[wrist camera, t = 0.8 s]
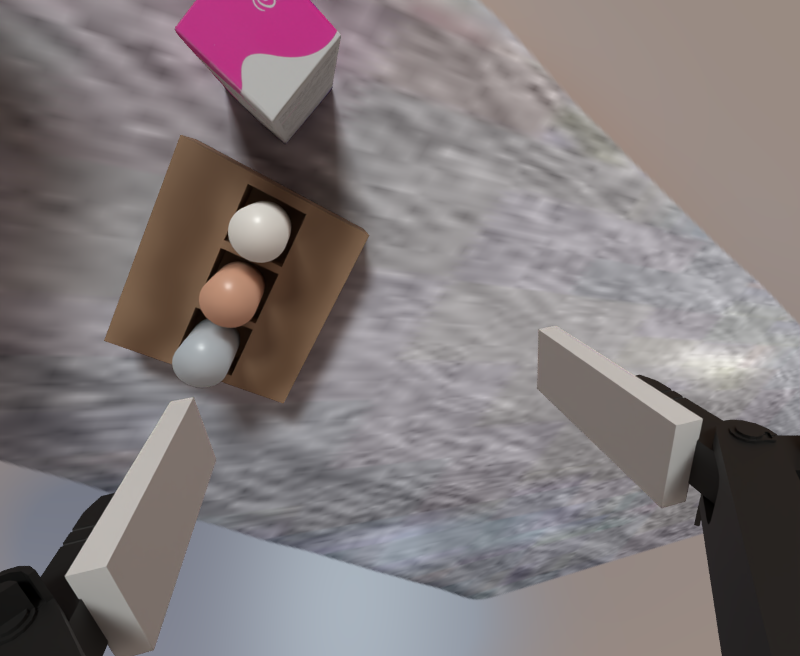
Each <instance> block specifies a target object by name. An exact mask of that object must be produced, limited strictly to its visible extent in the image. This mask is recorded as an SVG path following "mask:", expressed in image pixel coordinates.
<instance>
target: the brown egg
mask: <svg viewBox="0 0 800 656" xmlns="http://www.w3.org/2000/svg"><path fill="white" fill-rule="evenodd" d="M264 290H265V281H264V278H263V276H262V274H261V273H260V271H259V270H258V269H257V268H256V267H254V266H253V265H251V264H249V263H246V262H241V261H236V262H231V263H228V264H226V265H225V266H223V267H222V268H221V269H220V270H219V271H218V272H217V273H216V274H215V275H214V276H213V277H212V278H211V279H210V280H209V281H208V282H207V283H206V284H205V285H204V286H203V288H202V289H201V292H200V295H199V305H200V308H201V310H202V312H203V314H204V315H205V316H206V318H207V319H208V320H210V321H211V322H213V323H214V324H216V325H218V326H221V327H227V328H234V327H239V326H242V325H244V324H246V323H247V322H248V321H249V320H250V319H251V318H252V317H253V316H254V314H255V312H256V309H257V307H258V305H259V303H260V300H261V298H262V296H263V294H264Z"/></svg>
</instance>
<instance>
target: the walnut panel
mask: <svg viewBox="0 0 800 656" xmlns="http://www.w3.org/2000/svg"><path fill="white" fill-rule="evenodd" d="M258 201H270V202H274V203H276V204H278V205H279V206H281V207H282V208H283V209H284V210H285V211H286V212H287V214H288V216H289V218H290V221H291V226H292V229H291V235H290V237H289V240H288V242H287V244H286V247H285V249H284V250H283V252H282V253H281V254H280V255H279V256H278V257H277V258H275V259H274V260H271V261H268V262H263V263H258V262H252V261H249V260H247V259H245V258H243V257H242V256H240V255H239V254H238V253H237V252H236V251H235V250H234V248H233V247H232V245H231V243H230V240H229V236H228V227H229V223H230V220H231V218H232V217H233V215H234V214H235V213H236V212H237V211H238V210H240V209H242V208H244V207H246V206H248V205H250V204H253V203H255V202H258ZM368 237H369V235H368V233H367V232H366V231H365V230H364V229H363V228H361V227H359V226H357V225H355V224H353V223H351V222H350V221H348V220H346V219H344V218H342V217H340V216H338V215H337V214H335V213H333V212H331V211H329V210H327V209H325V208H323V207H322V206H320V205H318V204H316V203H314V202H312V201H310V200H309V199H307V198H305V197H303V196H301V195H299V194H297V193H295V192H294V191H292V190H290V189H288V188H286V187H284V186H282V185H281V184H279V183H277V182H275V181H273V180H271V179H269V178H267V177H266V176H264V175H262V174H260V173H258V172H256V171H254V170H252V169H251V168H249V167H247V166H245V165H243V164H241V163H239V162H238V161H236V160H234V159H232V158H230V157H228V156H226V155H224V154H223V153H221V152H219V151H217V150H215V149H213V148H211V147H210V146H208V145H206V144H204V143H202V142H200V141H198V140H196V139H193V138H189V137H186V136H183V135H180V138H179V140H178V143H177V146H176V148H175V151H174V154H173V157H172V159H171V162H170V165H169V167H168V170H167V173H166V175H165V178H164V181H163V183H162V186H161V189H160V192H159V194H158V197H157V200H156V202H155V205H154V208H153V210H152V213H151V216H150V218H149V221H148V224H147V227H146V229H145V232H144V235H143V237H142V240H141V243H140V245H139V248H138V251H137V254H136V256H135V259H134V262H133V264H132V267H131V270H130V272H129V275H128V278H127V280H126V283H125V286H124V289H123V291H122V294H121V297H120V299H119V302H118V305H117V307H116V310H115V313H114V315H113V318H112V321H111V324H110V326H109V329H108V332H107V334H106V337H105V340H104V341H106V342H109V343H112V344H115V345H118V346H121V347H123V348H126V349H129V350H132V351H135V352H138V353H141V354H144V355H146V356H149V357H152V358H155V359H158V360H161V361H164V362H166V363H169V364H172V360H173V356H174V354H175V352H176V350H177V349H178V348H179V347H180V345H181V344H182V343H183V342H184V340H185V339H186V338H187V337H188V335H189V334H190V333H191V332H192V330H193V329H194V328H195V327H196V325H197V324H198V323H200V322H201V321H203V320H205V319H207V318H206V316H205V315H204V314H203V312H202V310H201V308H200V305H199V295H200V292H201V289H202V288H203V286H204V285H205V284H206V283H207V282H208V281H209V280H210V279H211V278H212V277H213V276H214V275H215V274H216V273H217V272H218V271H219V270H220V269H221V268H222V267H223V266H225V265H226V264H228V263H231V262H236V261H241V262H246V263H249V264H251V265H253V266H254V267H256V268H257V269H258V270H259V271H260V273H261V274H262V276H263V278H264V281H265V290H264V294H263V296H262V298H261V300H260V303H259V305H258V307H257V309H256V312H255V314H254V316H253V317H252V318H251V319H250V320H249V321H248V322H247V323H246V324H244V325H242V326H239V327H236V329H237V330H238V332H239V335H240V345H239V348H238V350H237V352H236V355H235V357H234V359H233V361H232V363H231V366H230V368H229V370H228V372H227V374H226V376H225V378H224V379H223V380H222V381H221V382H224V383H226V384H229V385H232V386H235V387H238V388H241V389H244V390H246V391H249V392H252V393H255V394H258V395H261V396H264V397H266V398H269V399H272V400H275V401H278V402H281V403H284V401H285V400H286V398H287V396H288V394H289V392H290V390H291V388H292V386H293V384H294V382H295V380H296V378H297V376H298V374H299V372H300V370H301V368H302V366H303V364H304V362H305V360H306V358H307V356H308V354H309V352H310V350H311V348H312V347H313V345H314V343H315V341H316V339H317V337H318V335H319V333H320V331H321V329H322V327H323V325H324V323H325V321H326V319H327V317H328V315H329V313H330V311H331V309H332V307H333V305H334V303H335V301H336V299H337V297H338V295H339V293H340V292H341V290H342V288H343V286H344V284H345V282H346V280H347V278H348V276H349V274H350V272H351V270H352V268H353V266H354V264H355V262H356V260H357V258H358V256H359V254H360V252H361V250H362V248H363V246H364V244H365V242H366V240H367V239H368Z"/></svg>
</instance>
